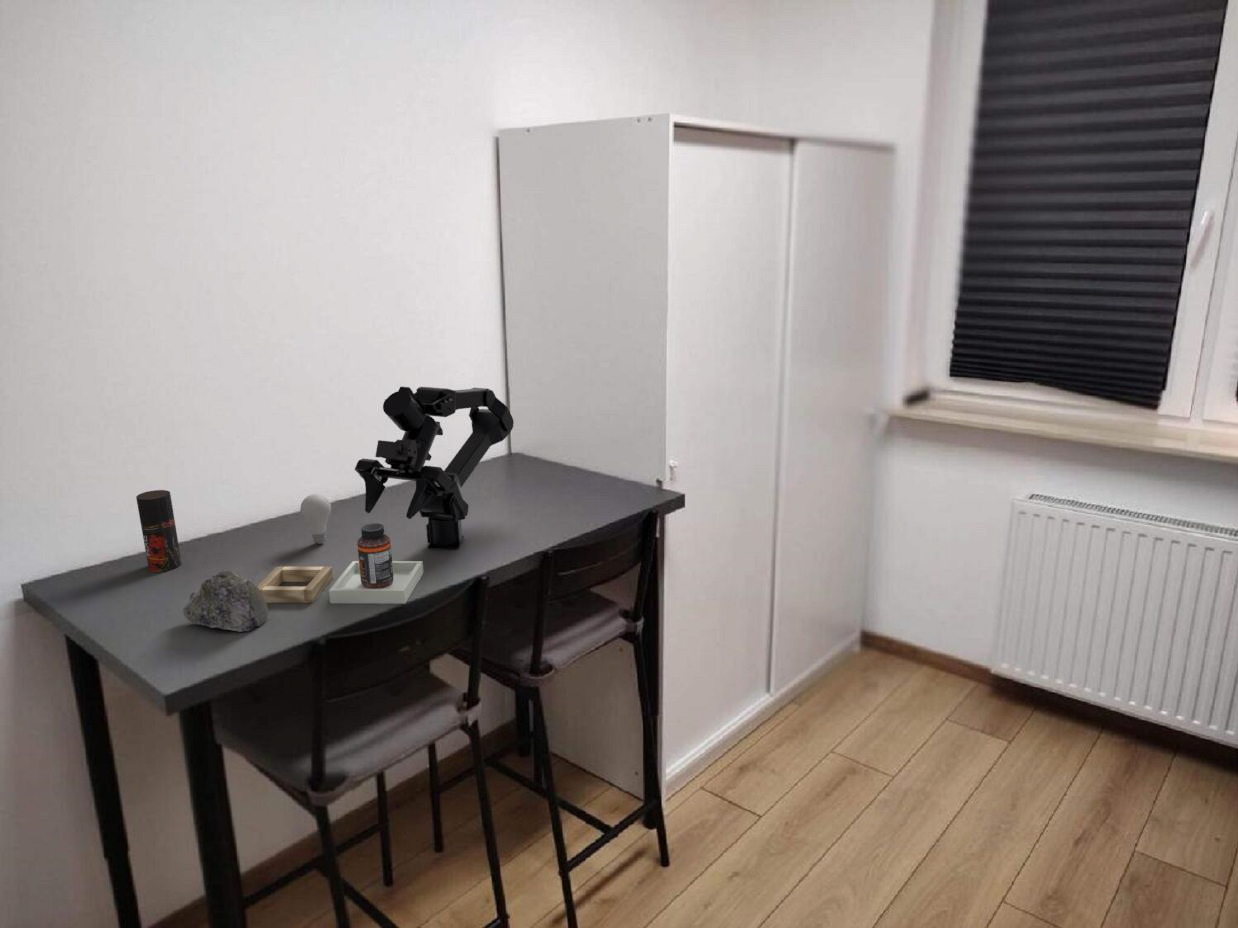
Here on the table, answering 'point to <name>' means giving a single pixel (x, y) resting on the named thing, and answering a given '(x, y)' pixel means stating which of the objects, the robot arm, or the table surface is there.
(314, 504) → the lightbulb
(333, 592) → the tray
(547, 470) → the table surface
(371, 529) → the supplement bottle
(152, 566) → the deodorant
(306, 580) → the collar socket
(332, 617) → the table surface
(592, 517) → the table surface
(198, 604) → the mineral rock
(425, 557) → the table surface
